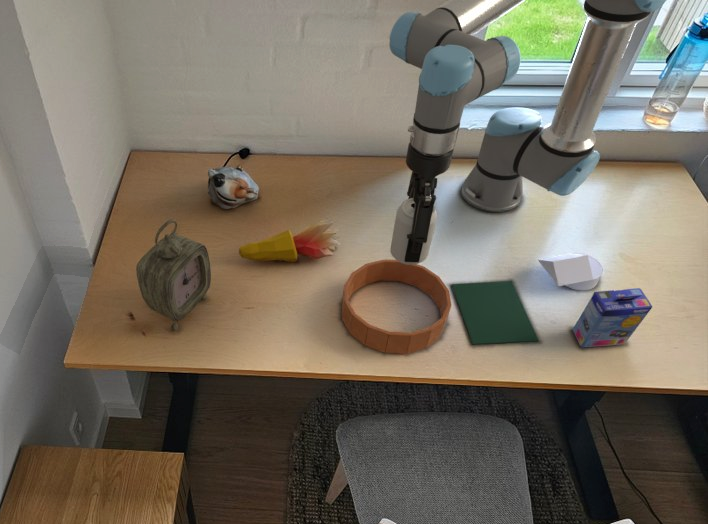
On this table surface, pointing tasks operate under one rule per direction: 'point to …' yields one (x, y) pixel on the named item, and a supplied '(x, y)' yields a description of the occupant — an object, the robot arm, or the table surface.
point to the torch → (294, 244)
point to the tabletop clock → (174, 275)
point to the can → (409, 232)
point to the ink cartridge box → (611, 317)
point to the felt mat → (493, 313)
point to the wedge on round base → (573, 270)
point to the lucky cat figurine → (231, 187)
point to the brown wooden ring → (406, 274)
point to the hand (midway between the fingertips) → (410, 246)
